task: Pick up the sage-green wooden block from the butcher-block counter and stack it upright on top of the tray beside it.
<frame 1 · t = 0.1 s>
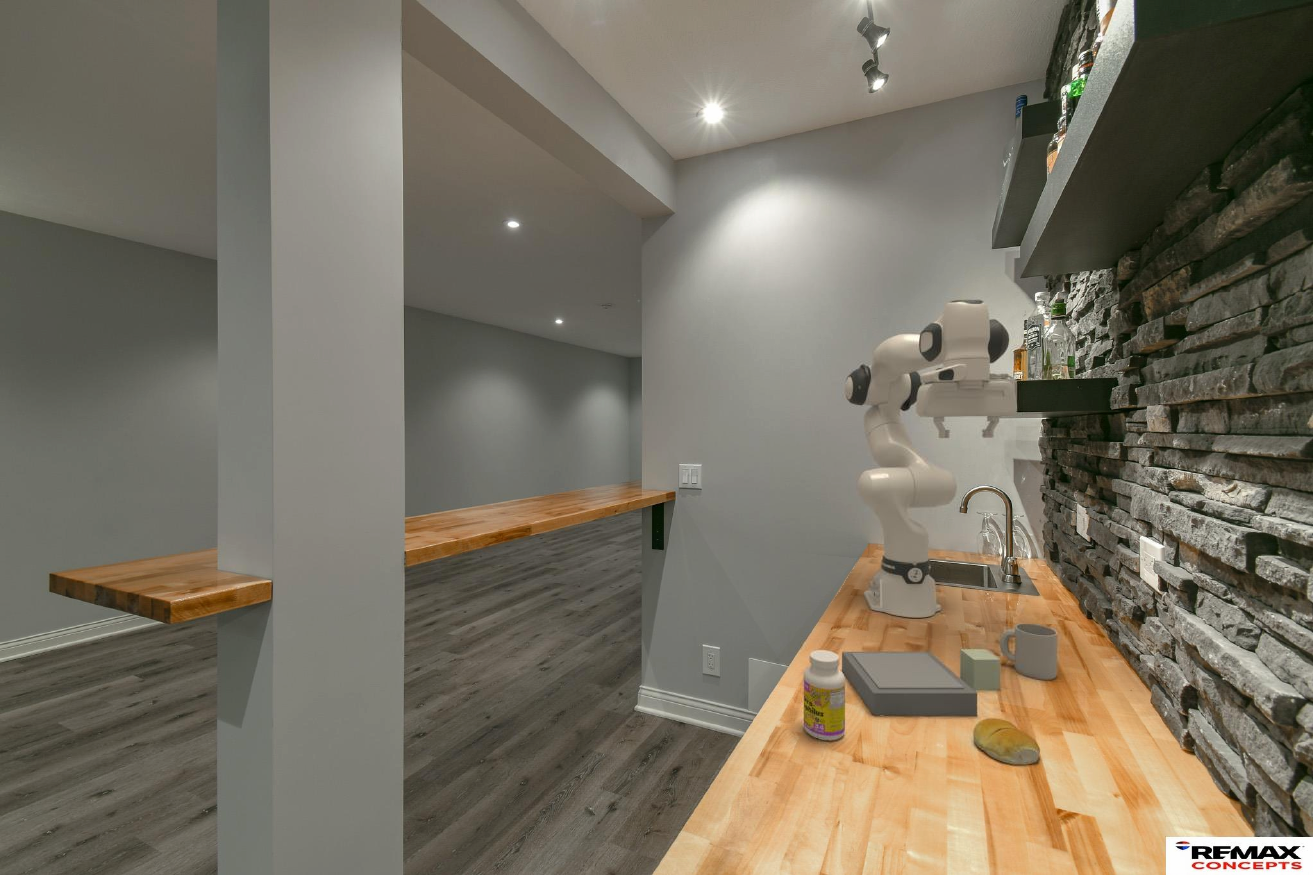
hand: (965, 437, 123), 48 cm above the countertop, tool pointing down, fingers open, 8 cm apart
supplement bottle: (824, 732, 95), on the countertop
sage block: (979, 684, 111), on the countertop
bread roll: (1005, 751, 89), on the countertop
cup: (1027, 671, 117), on the countertop
tray: (903, 691, 108), on the countertop
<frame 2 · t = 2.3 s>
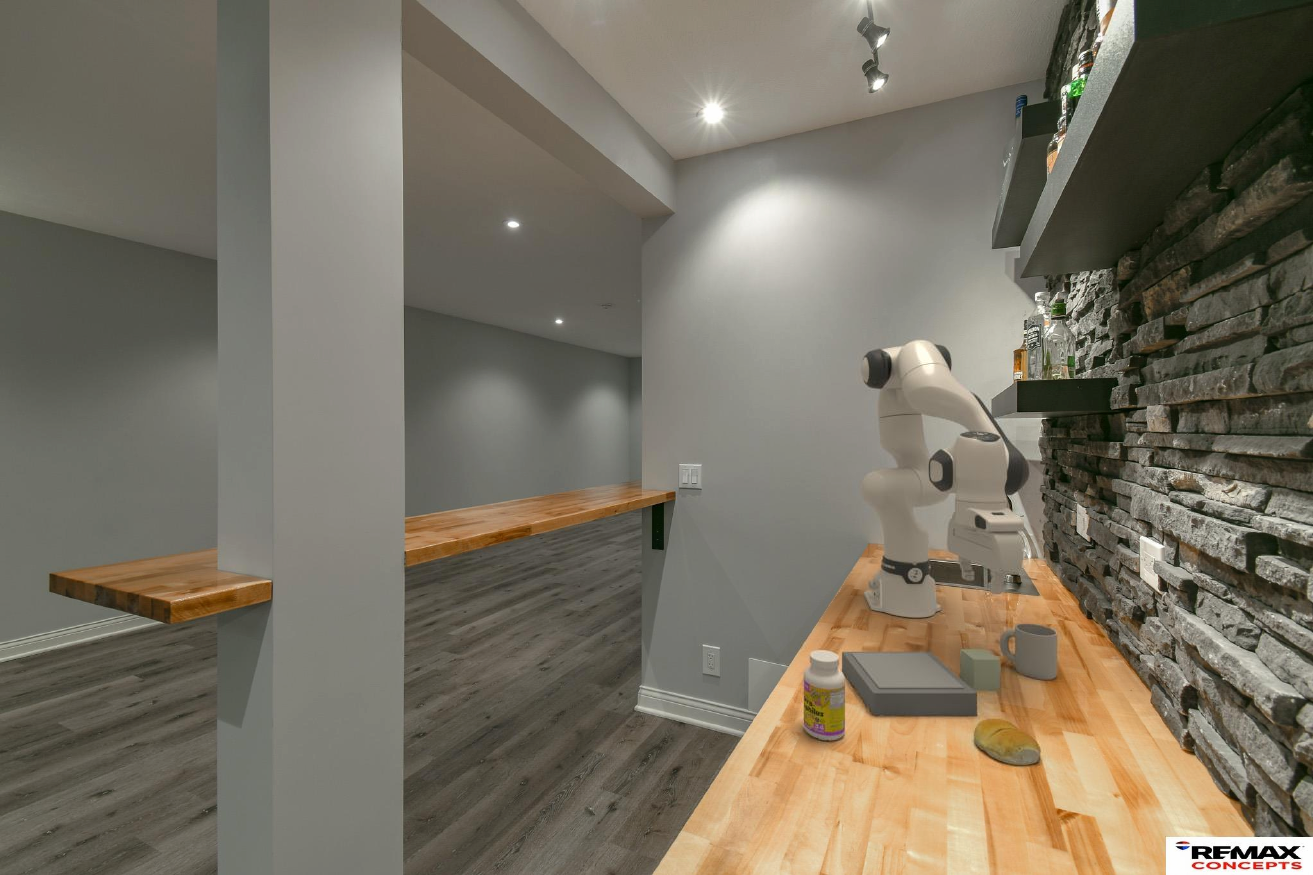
hand: (981, 586, 110), 19 cm above the countertop, tool pointing down, fingers open, 8 cm apart
nothing on the countertop moved.
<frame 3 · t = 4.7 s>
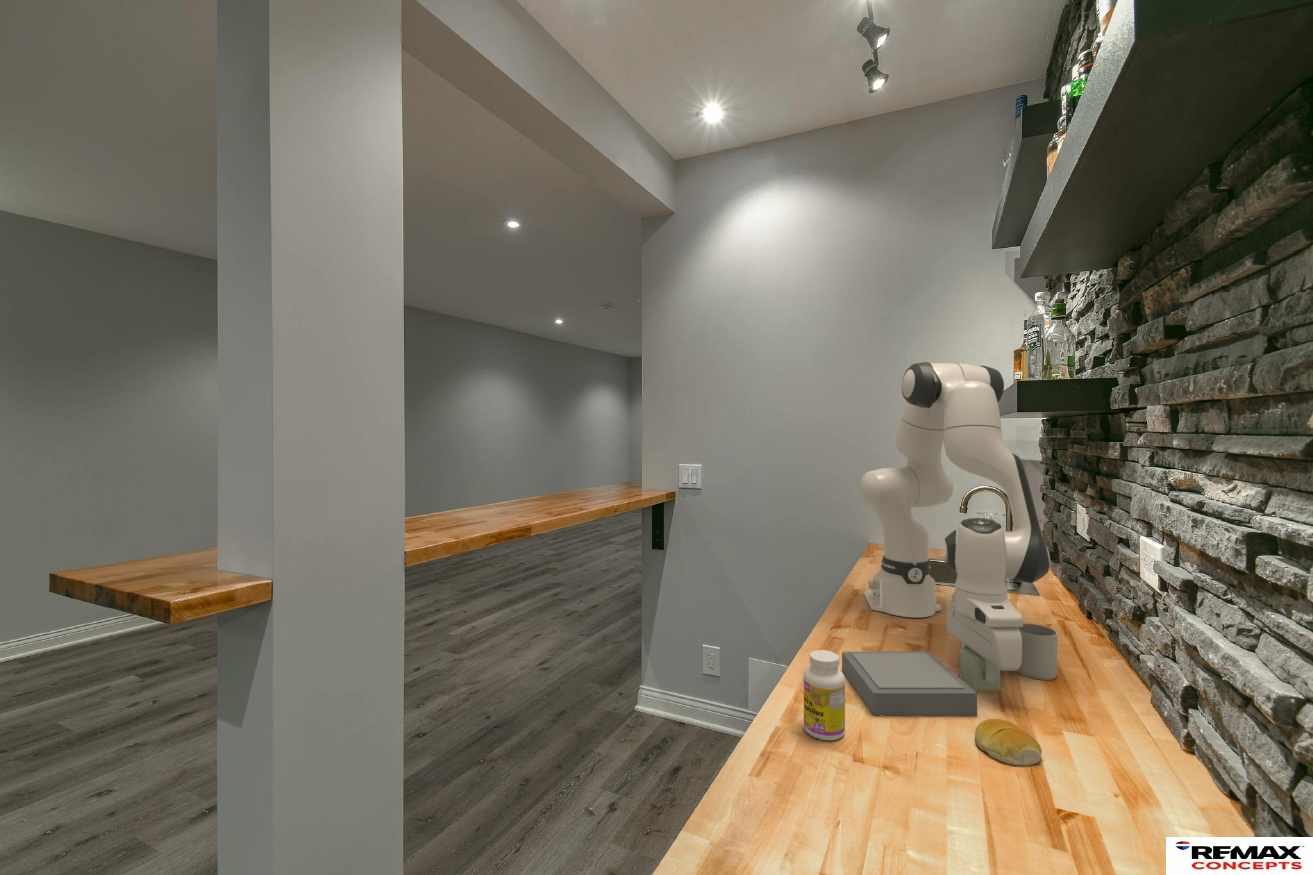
hand: (980, 673, 111), 2 cm above the countertop, tool pointing down, fingers closed on sage block, 5 cm apart
sage block: (979, 684, 111), on the countertop, touching gripper
everything else where it was.
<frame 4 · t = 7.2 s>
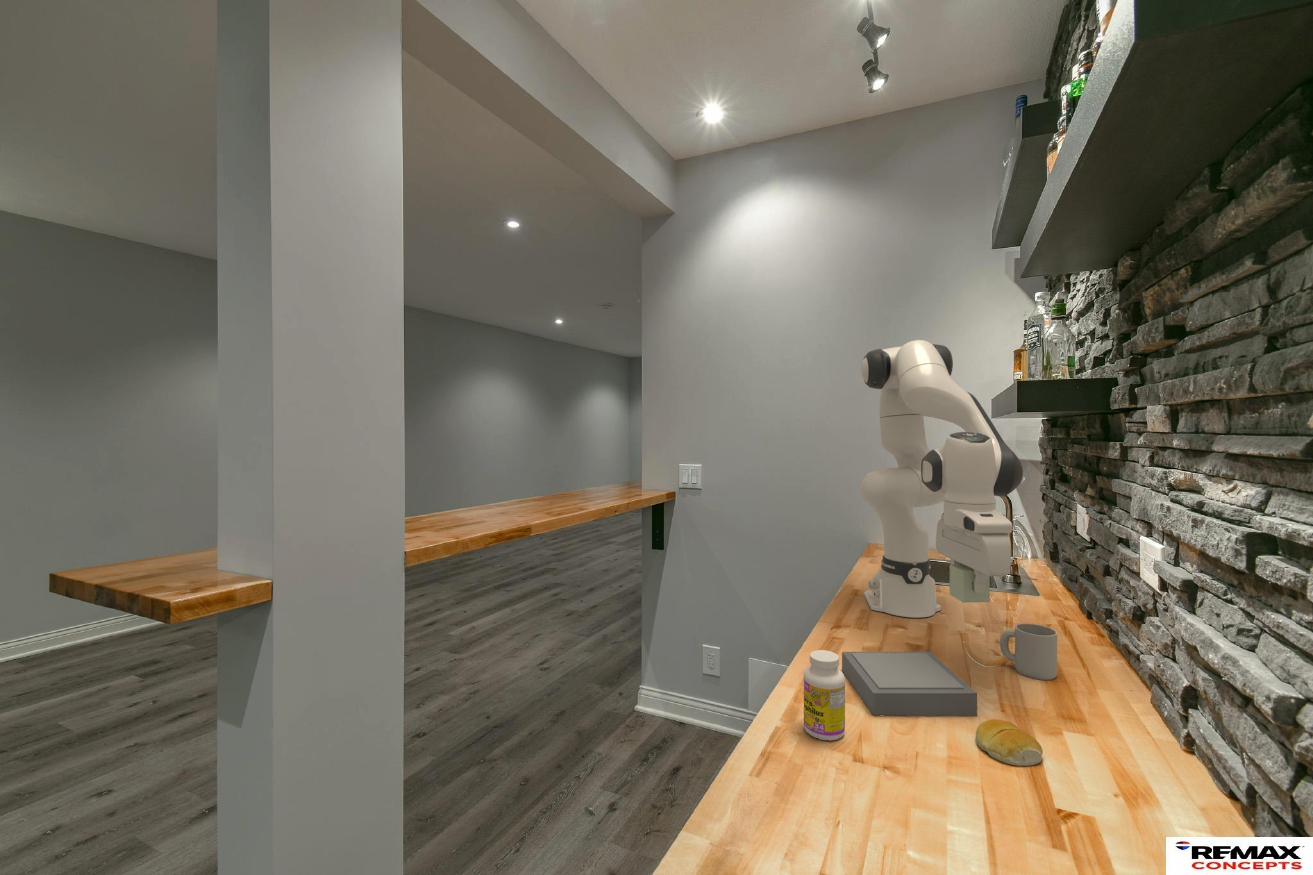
hand: (969, 587, 110), 19 cm above the countertop, tool pointing down, fingers closed on sage block, 5 cm apart
sage block: (969, 598, 110), point 17 cm above the countertop, touching gripper
everything else where it was.
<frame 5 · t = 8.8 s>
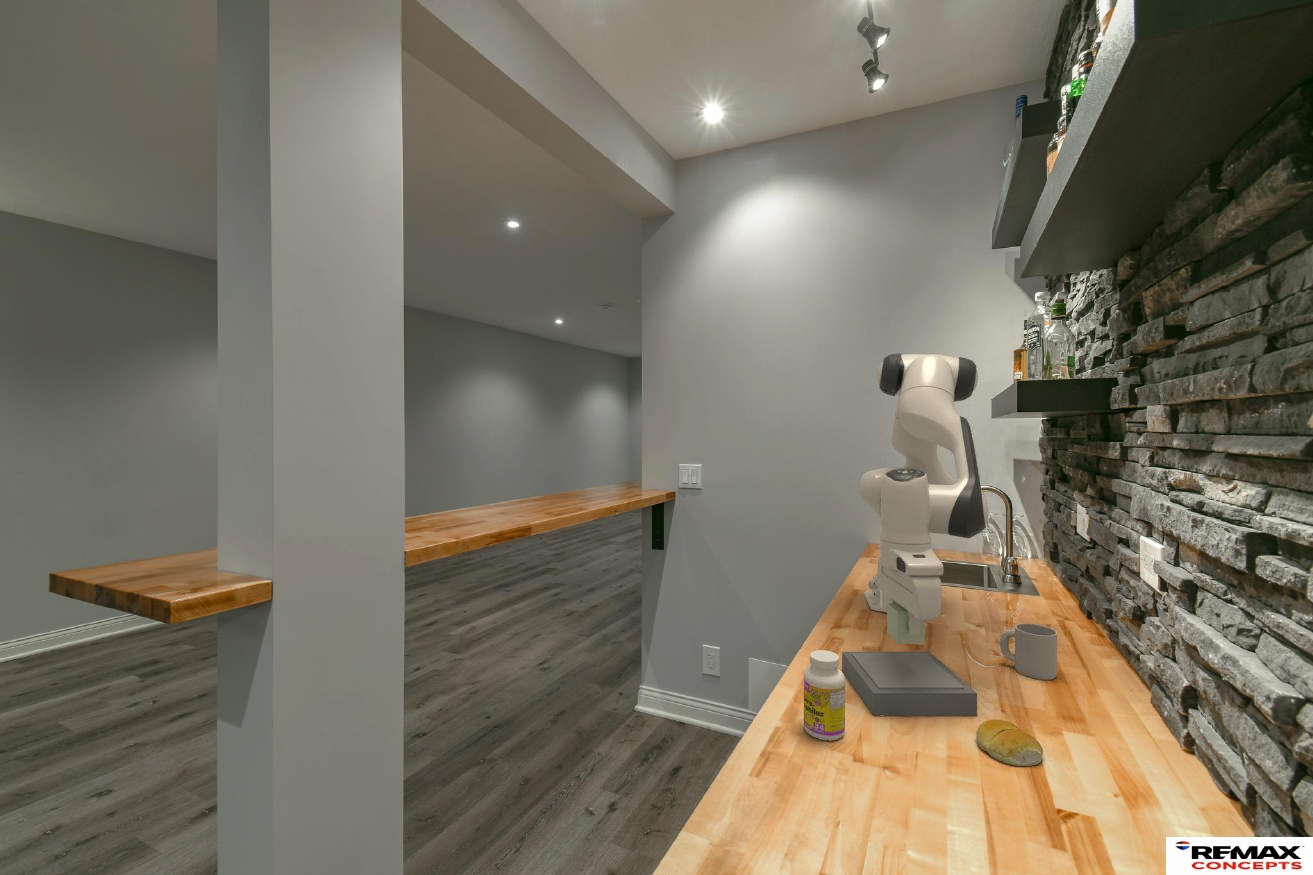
hand: (905, 627, 108), 12 cm above the countertop, tool pointing down, fingers closed on sage block, 5 cm apart
sage block: (905, 638, 108), point 10 cm above the countertop, touching gripper
everything else where it was.
when the fingers open (8 cm above the countertop, at t = 10.1 s): sage block drops 2 cm, resting on tray.
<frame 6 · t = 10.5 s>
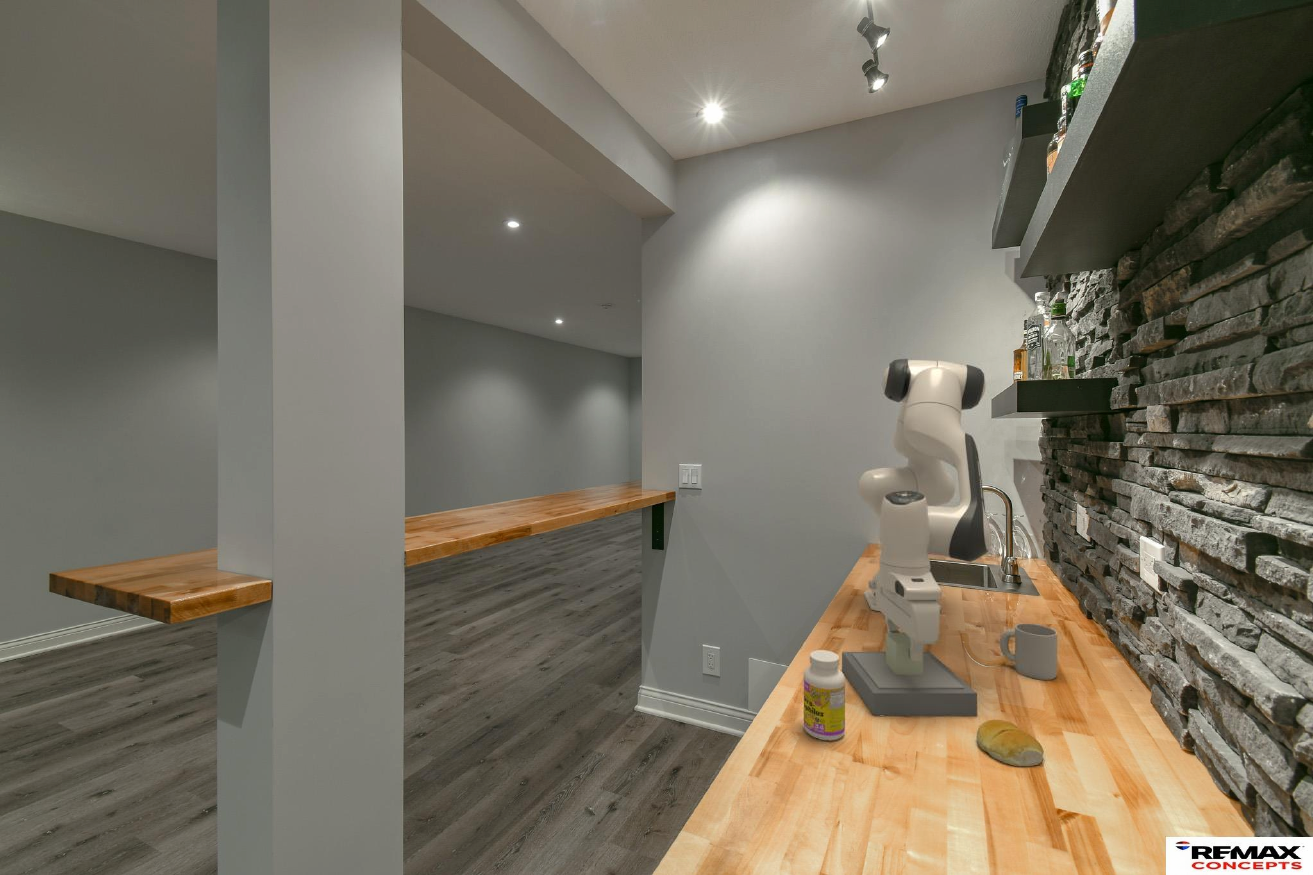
hand: (903, 649, 108), 8 cm above the countertop, tool pointing down, fingers open, 8 cm apart
sage block: (903, 668, 108), point 4 cm above the countertop, touching tray
everything else where it was.
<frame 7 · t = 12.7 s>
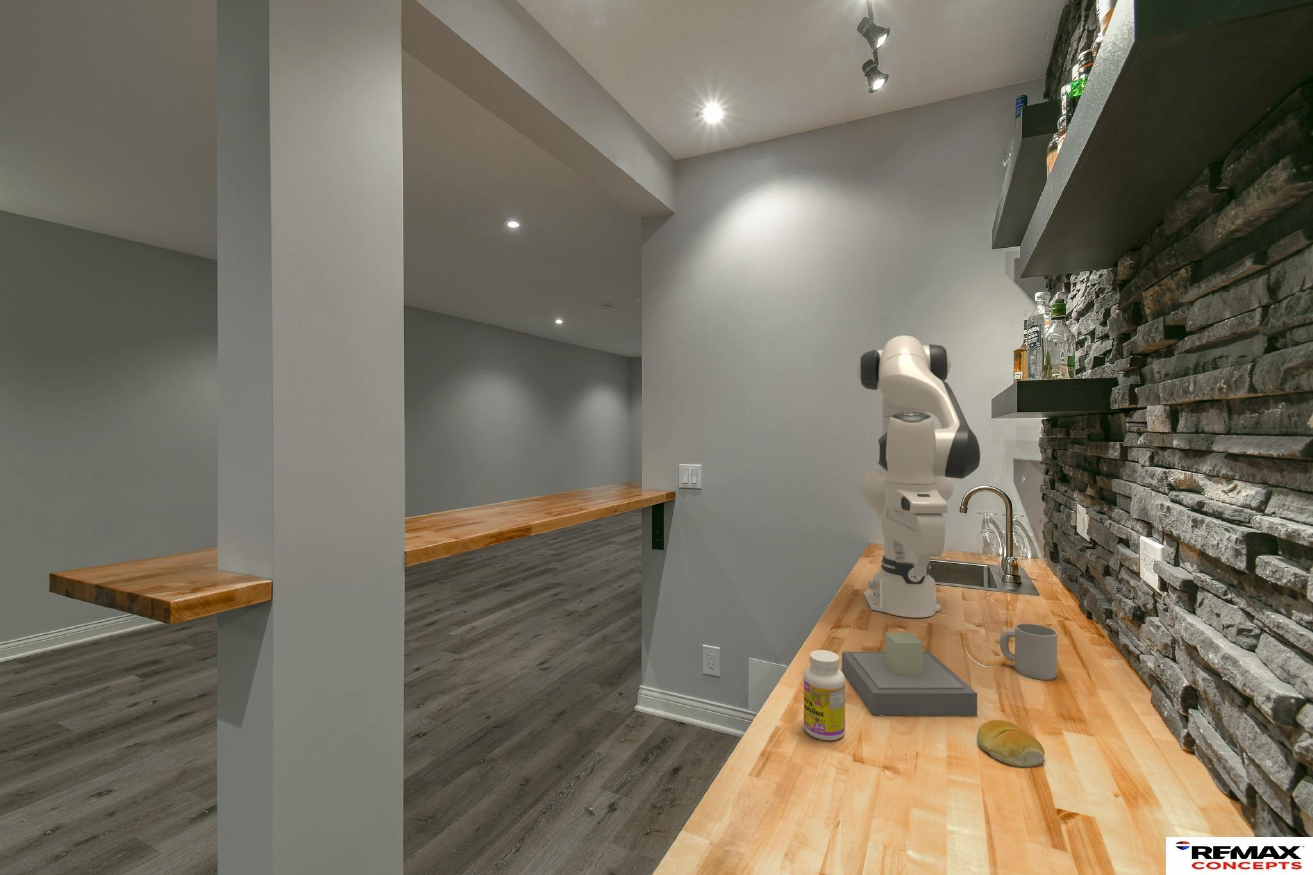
hand: (909, 568, 109), 23 cm above the countertop, tool pointing down, fingers open, 8 cm apart
nothing on the countertop moved.
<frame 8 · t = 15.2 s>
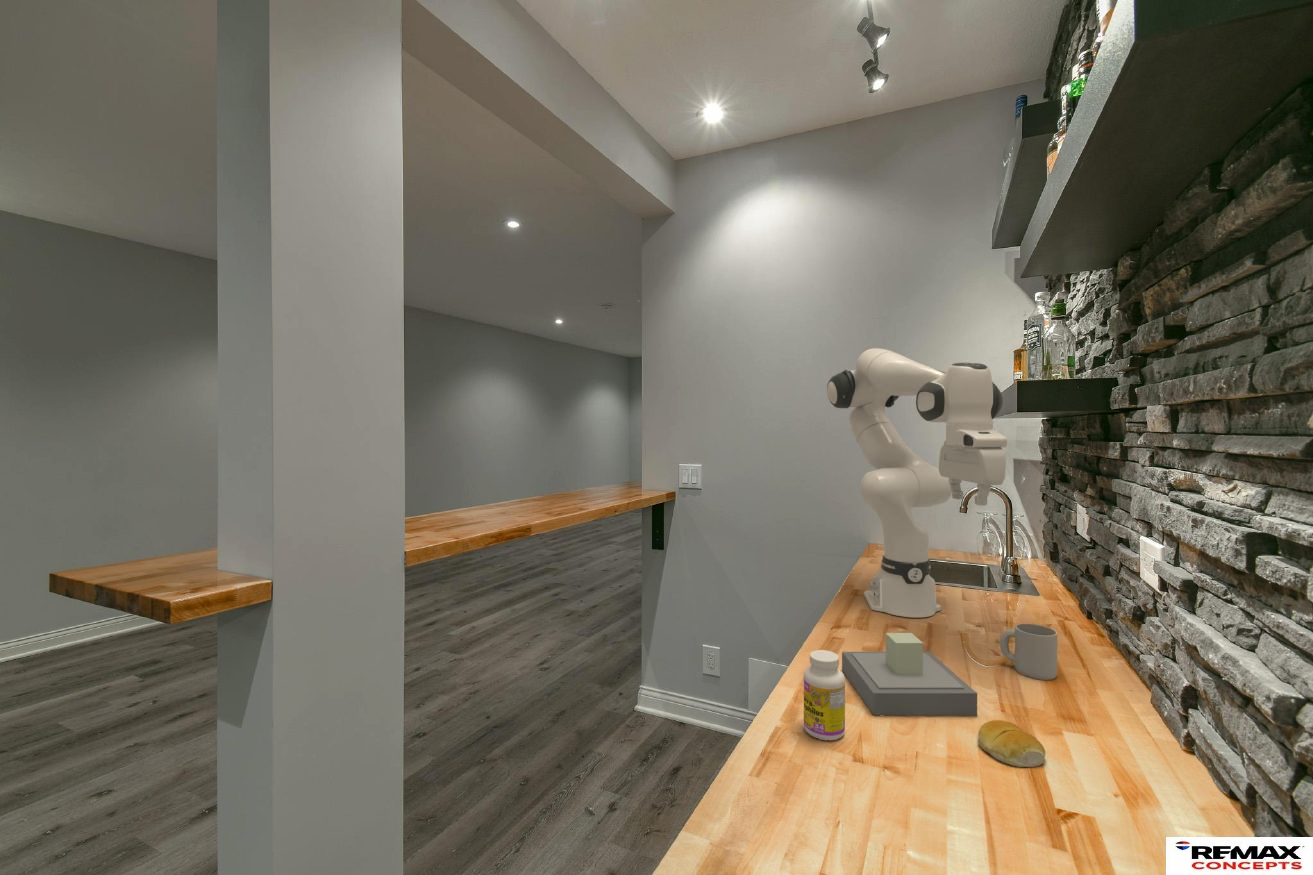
hand: (968, 501, 122), 34 cm above the countertop, tool pointing down, fingers open, 8 cm apart
nothing on the countertop moved.
at the end: sage block inside the target area on the tray (0.1 cm from its centre), point 4.3 cm above the tray's base; sage block tilted 0°; sage block touching tray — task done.
